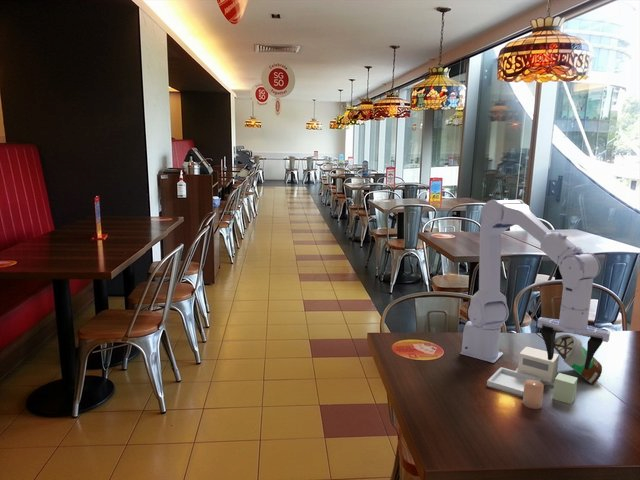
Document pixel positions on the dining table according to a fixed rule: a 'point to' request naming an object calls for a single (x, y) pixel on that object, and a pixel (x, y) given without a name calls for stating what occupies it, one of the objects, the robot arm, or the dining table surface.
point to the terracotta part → (533, 394)
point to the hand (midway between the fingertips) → (568, 363)
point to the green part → (565, 388)
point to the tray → (510, 381)
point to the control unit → (538, 365)
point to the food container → (577, 357)
